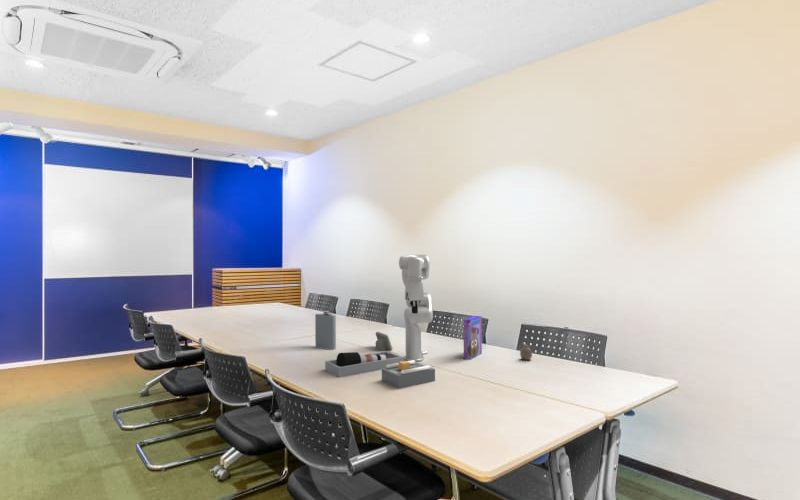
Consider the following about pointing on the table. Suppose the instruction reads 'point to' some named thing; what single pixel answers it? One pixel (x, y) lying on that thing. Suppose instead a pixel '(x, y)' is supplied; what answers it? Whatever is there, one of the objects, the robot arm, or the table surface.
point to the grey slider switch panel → (407, 376)
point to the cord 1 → (398, 364)
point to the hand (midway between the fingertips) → (414, 313)
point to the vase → (526, 353)
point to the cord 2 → (415, 369)
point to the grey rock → (383, 342)
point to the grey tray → (362, 365)
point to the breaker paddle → (404, 365)
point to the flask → (325, 330)
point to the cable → (356, 358)
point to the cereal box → (472, 337)
